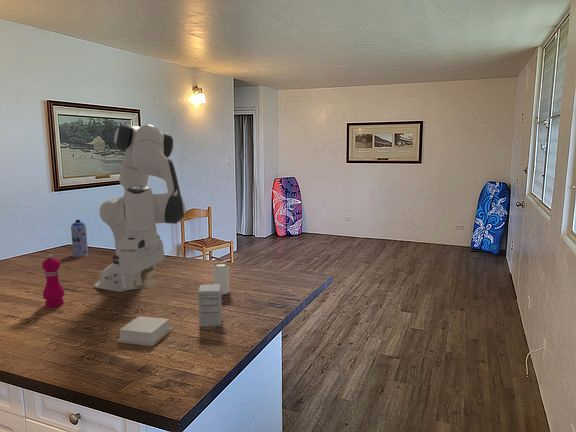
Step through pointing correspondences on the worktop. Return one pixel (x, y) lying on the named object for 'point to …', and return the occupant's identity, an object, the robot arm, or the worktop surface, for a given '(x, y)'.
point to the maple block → (147, 279)
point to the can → (221, 276)
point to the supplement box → (210, 305)
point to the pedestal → (144, 331)
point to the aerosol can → (79, 239)
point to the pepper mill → (52, 283)
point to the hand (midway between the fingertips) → (145, 281)
